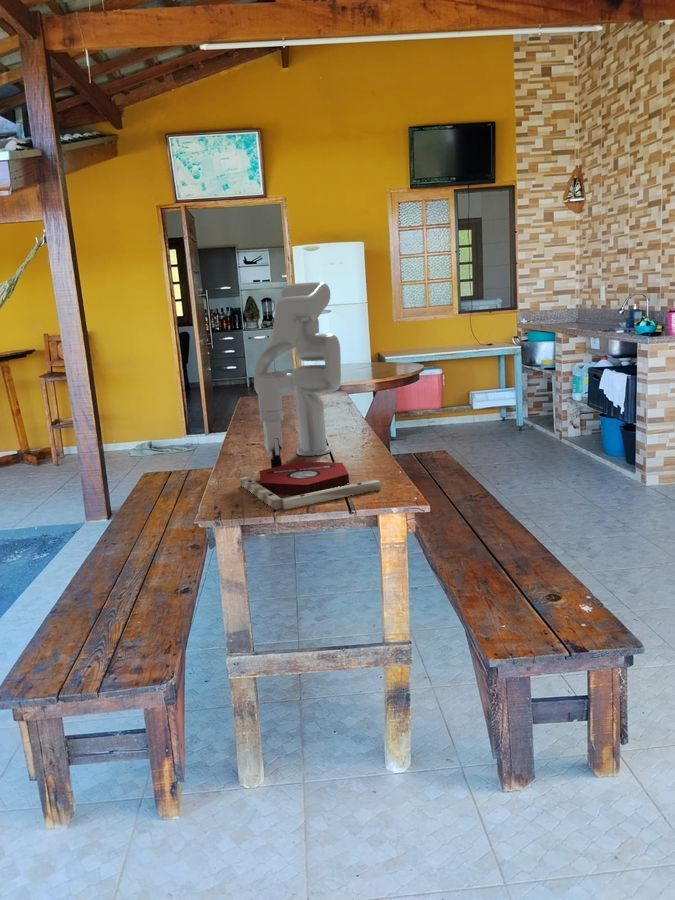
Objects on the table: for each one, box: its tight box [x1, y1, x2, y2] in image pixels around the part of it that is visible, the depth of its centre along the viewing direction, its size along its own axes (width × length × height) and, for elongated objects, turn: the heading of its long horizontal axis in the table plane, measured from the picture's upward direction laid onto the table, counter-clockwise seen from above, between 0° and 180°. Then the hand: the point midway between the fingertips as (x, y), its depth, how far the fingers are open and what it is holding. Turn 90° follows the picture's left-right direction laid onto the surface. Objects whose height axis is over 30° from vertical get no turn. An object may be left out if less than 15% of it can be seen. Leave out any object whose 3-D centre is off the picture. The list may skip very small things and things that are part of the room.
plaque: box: [259, 460, 350, 496], centre depth 227 cm, size 27×4×30 cm
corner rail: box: [239, 476, 381, 510], centre depth 221 cm, size 32×32×3 cm
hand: (276, 470), depth 239 cm, fingers closed
